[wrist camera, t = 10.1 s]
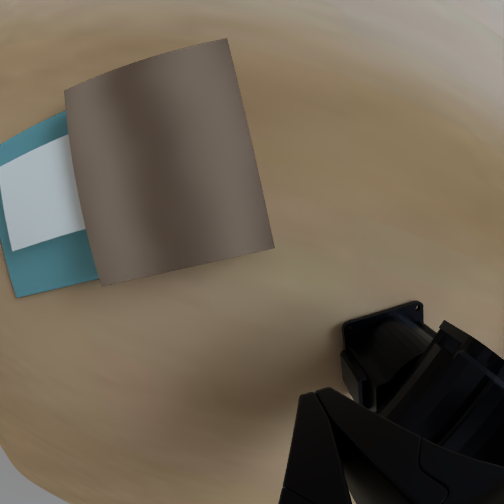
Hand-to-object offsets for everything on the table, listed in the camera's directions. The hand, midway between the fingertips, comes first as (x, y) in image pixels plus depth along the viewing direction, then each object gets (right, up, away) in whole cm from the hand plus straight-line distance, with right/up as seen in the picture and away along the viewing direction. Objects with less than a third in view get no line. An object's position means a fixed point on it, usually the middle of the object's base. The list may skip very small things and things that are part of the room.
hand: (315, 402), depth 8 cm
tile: (-15, +8, +11) cm, 20 cm away
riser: (-7, +10, +11) cm, 16 cm away
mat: (-17, +7, +11) cm, 21 cm away
